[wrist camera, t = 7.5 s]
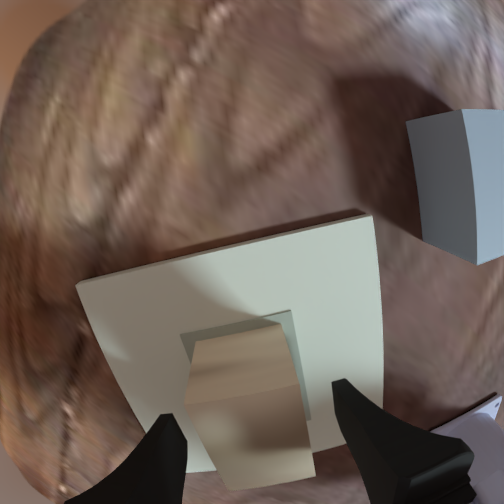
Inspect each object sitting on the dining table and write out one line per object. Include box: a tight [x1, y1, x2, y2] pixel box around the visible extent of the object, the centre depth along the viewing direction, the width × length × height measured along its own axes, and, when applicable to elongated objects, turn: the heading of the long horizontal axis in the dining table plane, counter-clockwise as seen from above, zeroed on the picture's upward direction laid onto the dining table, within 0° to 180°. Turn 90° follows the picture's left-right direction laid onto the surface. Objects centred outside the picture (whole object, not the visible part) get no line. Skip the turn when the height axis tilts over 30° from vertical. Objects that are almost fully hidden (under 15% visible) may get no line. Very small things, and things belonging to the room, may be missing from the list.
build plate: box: [75, 214, 383, 473], centre depth 15 cm, size 14×14×1 cm
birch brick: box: [184, 324, 316, 491], centre depth 13 cm, size 6×4×4 cm, turn 12°
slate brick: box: [405, 109, 504, 265], centre depth 12 cm, size 6×4×4 cm, turn 13°
